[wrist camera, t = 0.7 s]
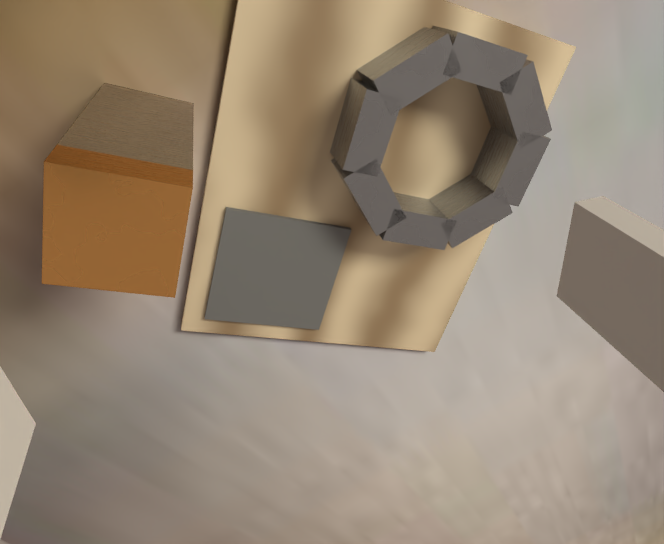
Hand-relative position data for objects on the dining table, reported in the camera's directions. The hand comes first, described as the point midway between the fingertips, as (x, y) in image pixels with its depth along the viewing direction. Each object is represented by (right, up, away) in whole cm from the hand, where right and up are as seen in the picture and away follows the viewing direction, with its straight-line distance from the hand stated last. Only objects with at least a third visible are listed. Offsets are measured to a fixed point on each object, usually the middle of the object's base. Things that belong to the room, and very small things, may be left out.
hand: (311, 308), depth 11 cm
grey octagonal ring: (+7, +10, +23) cm, 26 cm away
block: (-11, +9, +19) cm, 24 cm away
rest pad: (-4, +1, +26) cm, 26 cm away
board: (+3, +7, +25) cm, 26 cm away
